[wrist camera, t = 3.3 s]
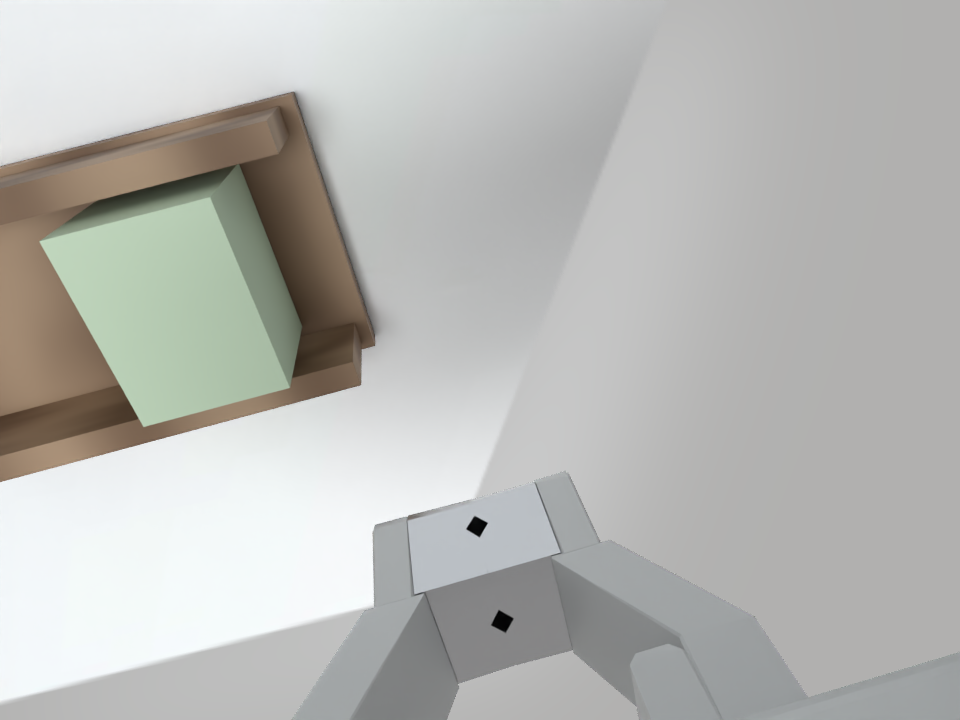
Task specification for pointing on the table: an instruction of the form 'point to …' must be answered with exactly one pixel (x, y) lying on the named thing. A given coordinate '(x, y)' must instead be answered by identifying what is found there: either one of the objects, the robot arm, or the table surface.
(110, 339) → the sage block
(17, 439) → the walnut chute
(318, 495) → the table surface
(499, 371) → the table surface
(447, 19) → the table surface
